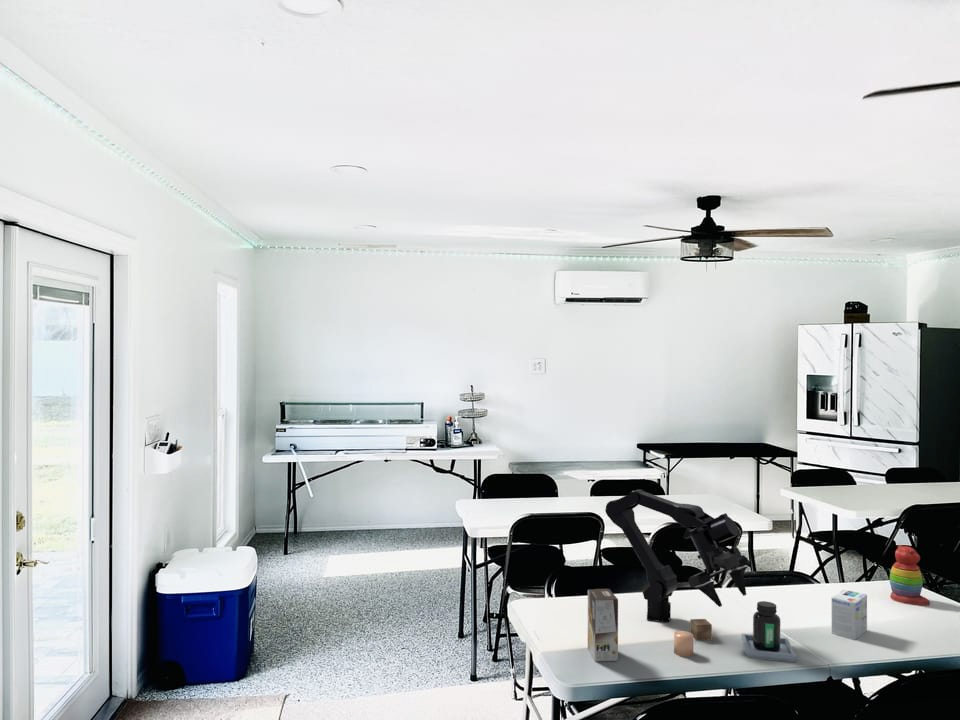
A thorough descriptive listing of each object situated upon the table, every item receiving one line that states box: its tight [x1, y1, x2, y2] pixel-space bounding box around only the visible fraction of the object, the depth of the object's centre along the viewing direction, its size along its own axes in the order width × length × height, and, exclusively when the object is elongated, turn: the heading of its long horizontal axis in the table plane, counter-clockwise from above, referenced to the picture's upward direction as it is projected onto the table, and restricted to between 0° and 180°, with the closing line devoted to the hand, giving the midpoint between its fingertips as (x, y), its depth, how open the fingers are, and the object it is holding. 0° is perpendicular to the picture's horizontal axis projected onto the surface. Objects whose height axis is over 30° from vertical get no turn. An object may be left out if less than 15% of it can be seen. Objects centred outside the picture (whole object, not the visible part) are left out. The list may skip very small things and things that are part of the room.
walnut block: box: [689, 618, 713, 641], centre depth 196 cm, size 4×4×4 cm
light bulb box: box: [831, 589, 868, 641], centre depth 200 cm, size 11×7×11 cm, turn 134°
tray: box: [741, 633, 796, 663], centre depth 187 cm, size 12×12×2 cm
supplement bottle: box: [752, 600, 781, 652], centre depth 187 cm, size 7×7×12 cm
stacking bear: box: [889, 544, 931, 606], centre depth 229 cm, size 11×10×18 cm
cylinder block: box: [673, 630, 694, 658], centre depth 185 cm, size 5×5×5 cm
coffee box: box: [587, 588, 619, 662], centre depth 183 cm, size 9×6×16 cm
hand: (732, 600), depth 195 cm, fingers open, 9 cm apart
